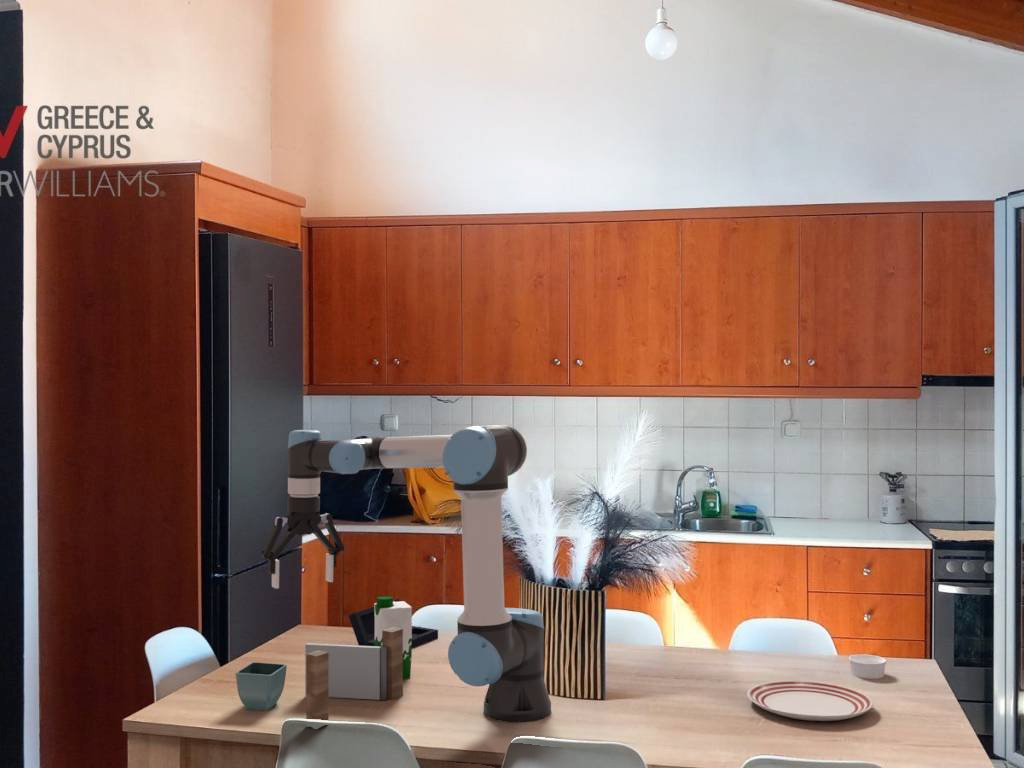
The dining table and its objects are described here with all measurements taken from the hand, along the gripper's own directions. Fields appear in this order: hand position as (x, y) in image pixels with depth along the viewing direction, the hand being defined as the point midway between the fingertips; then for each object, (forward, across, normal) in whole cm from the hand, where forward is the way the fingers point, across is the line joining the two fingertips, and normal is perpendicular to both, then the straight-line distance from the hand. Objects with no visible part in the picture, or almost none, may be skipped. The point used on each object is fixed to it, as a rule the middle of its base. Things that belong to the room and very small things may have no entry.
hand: (302, 584), depth 238 cm
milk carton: (+26, -24, 0) cm, 36 cm away
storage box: (+27, -40, -29) cm, 56 cm away
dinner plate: (+25, -91, +75) cm, 121 cm away
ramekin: (+24, -124, +67) cm, 143 cm away
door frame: (+26, -5, +20) cm, 33 cm away
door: (+26, -13, +16) cm, 33 cm away
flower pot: (+26, +12, +5) cm, 29 cm away
